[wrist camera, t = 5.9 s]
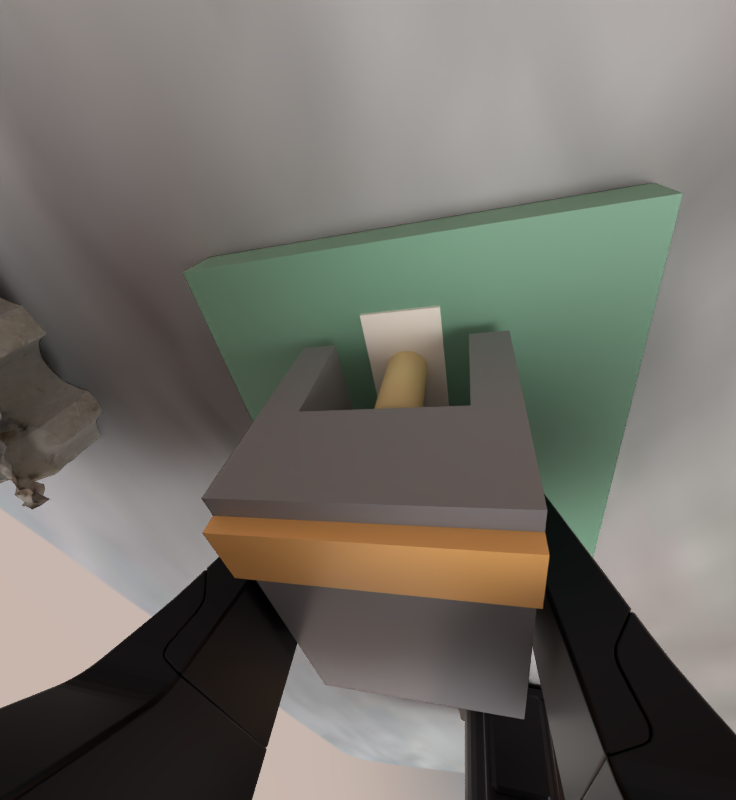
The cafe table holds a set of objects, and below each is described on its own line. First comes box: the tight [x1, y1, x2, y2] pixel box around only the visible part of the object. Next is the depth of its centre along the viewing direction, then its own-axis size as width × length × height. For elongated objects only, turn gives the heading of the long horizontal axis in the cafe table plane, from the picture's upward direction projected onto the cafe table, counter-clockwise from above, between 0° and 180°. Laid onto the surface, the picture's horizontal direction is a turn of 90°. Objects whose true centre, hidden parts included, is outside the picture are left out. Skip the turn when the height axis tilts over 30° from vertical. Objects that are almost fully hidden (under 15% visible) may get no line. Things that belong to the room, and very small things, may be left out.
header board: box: [183, 183, 683, 557], centre depth 10 cm, size 11×10×3 cm
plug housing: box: [202, 330, 550, 719], centre depth 8 cm, size 7×5×5 cm, turn 12°
